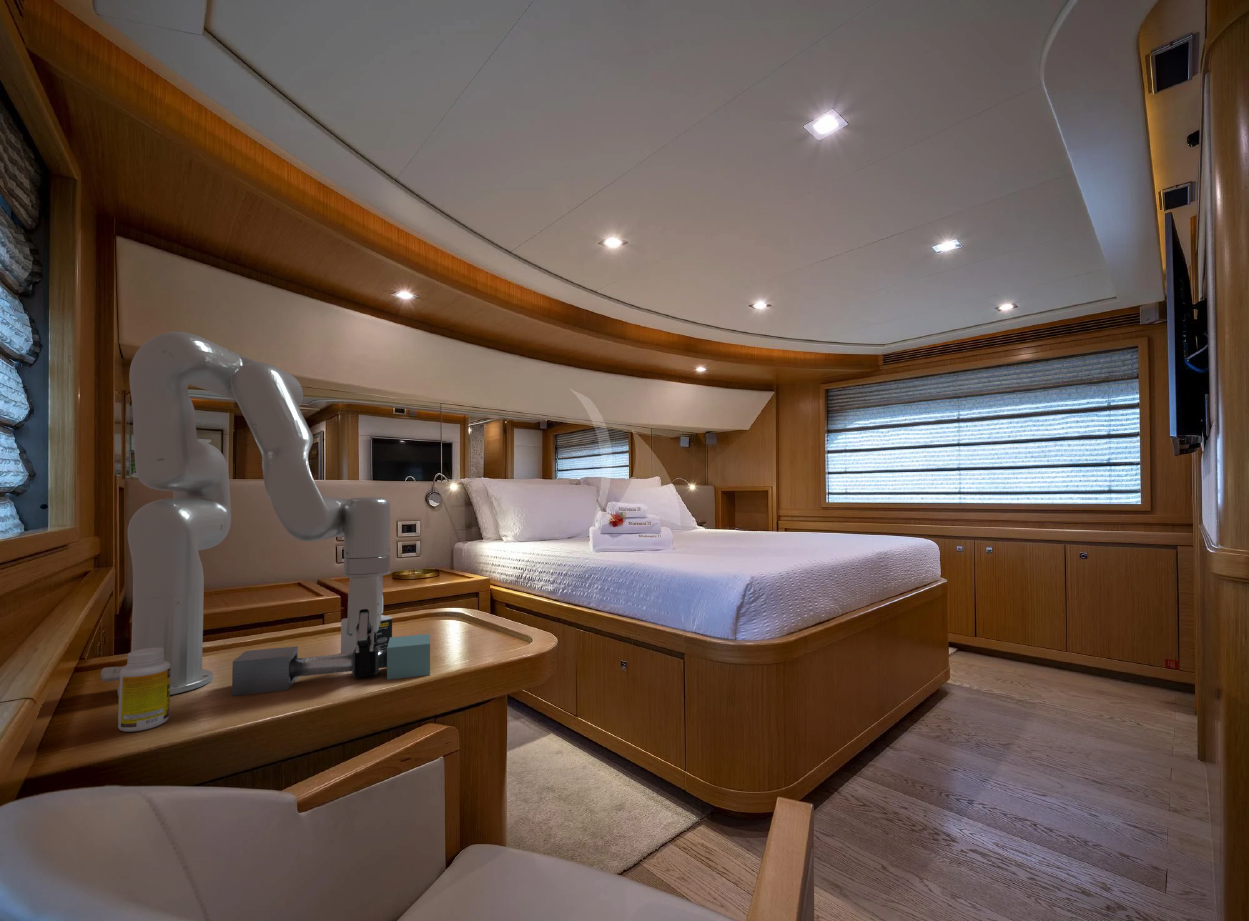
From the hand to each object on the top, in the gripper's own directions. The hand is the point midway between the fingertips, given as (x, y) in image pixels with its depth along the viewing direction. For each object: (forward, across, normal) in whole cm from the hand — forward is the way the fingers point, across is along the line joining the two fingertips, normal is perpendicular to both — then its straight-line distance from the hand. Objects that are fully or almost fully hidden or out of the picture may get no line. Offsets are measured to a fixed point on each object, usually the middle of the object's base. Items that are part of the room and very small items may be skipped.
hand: (366, 670), depth 103 cm
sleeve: (+1, 0, -15) cm, 15 cm away
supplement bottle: (+1, +13, -27) cm, 30 cm away
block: (+1, 0, +7) cm, 7 cm away
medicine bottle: (+1, -16, -1) cm, 16 cm away
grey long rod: (0, 0, -5) cm, 5 cm away
